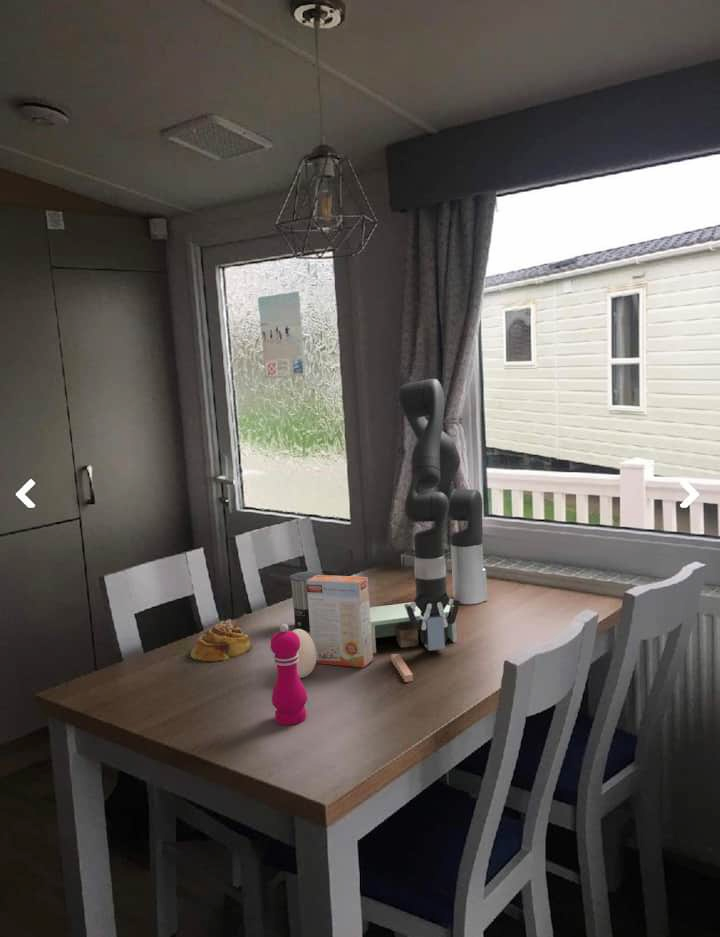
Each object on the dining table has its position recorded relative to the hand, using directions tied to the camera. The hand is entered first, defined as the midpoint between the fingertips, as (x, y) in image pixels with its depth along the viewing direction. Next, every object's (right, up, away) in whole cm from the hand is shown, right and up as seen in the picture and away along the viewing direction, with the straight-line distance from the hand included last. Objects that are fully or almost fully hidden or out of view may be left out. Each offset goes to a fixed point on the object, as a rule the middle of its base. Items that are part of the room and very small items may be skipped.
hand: (434, 642), depth 196 cm
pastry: (-54, -5, +11) cm, 55 cm away
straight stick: (-8, -5, -10) cm, 14 cm away
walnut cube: (-6, -2, +8) cm, 10 cm away
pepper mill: (-32, -9, -32) cm, 46 cm away
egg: (-32, -6, -10) cm, 34 cm away
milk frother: (-28, -1, +29) cm, 40 cm away
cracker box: (-22, -5, -2) cm, 23 cm away
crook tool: (-3, -1, +6) cm, 6 cm away
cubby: (-6, -2, +11) cm, 12 cm away
